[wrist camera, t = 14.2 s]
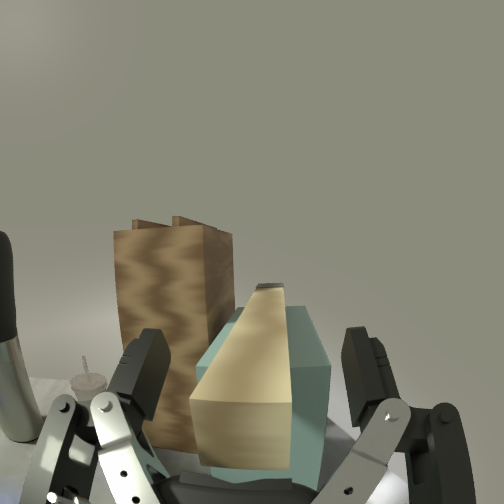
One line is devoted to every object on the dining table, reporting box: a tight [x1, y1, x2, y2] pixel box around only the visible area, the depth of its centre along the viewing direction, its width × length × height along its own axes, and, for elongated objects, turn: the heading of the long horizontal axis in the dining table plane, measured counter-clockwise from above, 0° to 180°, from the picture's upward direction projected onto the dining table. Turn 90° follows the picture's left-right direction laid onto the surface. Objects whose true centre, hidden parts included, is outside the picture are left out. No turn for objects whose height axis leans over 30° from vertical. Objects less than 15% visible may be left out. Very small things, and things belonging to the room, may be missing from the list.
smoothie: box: [70, 356, 107, 401], centre depth 34 cm, size 6×6×14 cm
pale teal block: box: [196, 306, 331, 491], centre depth 30 cm, size 10×22×20 cm, turn 175°
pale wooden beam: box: [189, 283, 292, 470], centre depth 24 cm, size 4×32×4 cm, turn 174°
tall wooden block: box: [114, 216, 235, 454], centre depth 42 cm, size 12×20×33 cm, turn 175°
